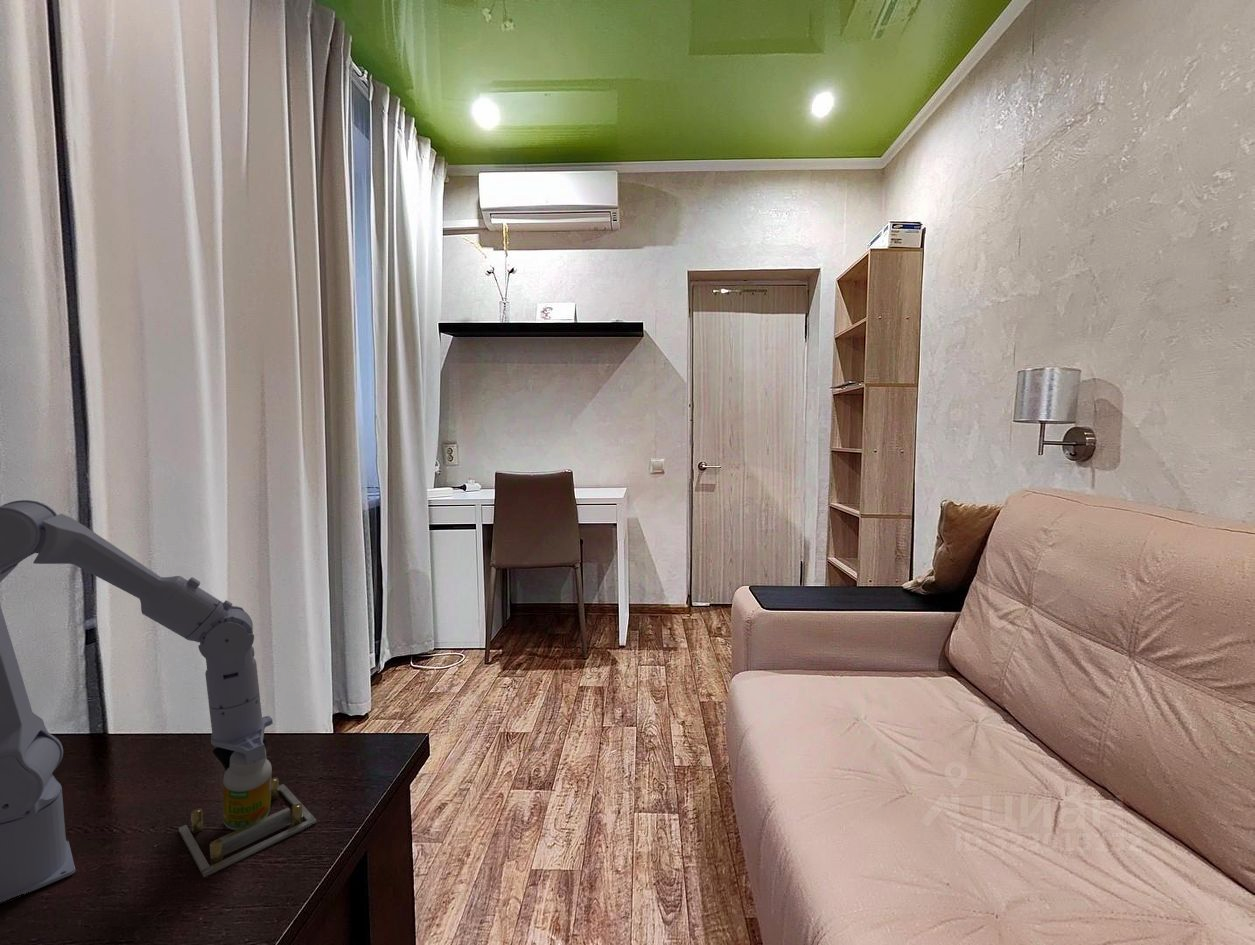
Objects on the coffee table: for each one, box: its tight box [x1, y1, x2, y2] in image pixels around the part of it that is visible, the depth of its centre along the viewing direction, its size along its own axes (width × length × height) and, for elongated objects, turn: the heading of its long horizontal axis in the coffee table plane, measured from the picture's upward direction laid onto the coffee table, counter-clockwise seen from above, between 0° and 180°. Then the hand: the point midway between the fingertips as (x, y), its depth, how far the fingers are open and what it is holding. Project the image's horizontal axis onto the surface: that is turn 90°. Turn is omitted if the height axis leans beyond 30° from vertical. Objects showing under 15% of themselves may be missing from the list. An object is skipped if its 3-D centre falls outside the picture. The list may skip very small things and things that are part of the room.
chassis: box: [178, 777, 317, 878], centre depth 76 cm, size 12×12×2 cm
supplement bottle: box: [222, 748, 273, 831], centre depth 77 cm, size 5×5×10 cm
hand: (245, 792), depth 80 cm, fingers closed, pressing on supplement bottle
